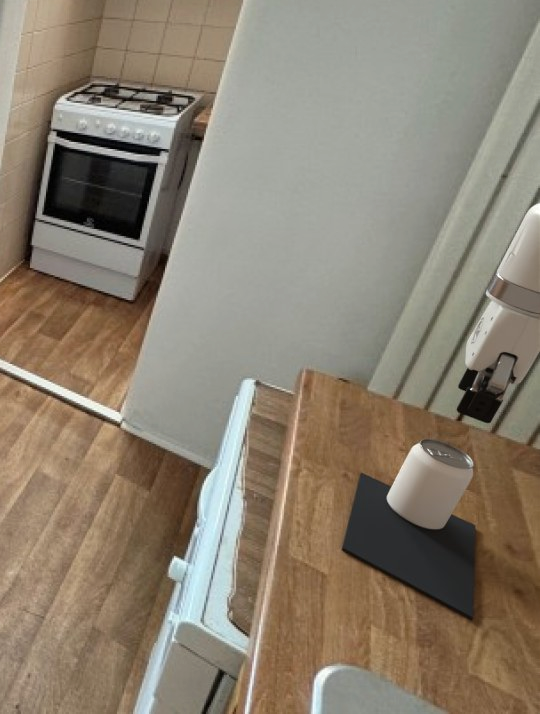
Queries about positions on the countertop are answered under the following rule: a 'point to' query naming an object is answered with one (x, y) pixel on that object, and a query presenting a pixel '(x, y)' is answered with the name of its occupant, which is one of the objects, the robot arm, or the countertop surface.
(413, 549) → the mat
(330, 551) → the countertop surface
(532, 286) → the robot arm
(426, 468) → the can
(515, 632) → the countertop surface
